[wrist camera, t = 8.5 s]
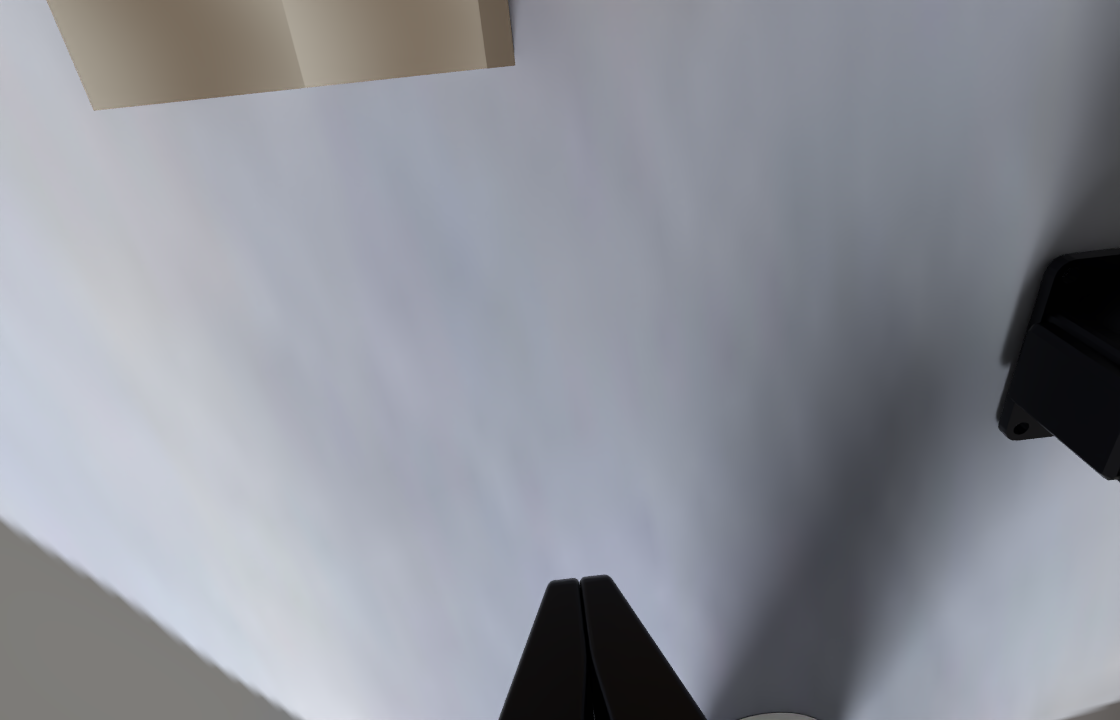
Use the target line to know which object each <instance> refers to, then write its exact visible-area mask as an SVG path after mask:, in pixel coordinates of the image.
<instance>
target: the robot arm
mask: <svg viewBox="0 0 1120 720" xmlns="http://www.w3.org/2000/svg"><path fill="white" fill-rule="evenodd" d="M1069 269H1070V270H1069ZM1067 270H1069V272H1068V274H1066V275H1065V276H1064V277H1063V275H1064V273H1065V272H1066V271H1067ZM1016 425H1017V426H1016ZM998 428H999V430H1000V431H1001V432H1002V433H1003V434H1004V435H1005V436H1006V437H1007V438H1009V439H1011V440H1026V439H1034V438H1043V437H1051V436H1055V437H1056V438H1057V439H1058V440H1060V441H1061V442H1062V443H1063V444H1064V445H1065V446H1067V447H1068V448H1069V449H1070V450H1071V451H1073V452H1074V453H1075V454H1076V455H1077V456H1078V457H1080V458H1081V459H1082V460H1083V461H1084V462H1086V463H1087V464H1088V465H1089V466H1090V467H1091V468H1093V469H1094V470H1095V471H1096V472H1097V473H1099V474H1100V475H1101V476H1102V477H1103V478H1105V479H1107V480H1118V481H1119V482H1120V248H1116V249H1107V250H1099V251H1090V252H1081V253H1072V254H1065V255H1062V256H1059V257H1058V258H1056V259H1054V260H1053V261H1052V262H1051V263H1050V264H1049V265H1048V267H1047V269H1046V271H1045V273H1044V276H1043V280H1042V283H1041V286H1040V289H1039V293H1038V296H1037V299H1036V303H1035V306H1034V309H1033V312H1032V316H1031V319H1030V322H1029V325H1028V329H1027V332H1026V335H1025V339H1024V342H1023V345H1022V348H1021V352H1020V355H1019V358H1018V361H1017V365H1016V368H1015V371H1014V375H1013V378H1012V381H1011V384H1010V388H1009V391H1008V394H1007V397H1006V401H1005V404H1004V407H1003V411H1002V414H1001V417H1000V420H999V425H998ZM594 719H595V720H707V719H706V717H705V716H704V714H703V713H702V711H701V710H700V708H699V707H698V705H697V704H696V702H695V701H694V700H693V698H692V697H691V695H690V694H689V692H688V691H687V689H686V688H685V686H684V685H683V683H682V682H681V680H680V679H679V677H678V676H677V674H676V673H675V671H674V670H673V668H672V667H671V665H670V664H669V663H668V661H667V660H666V658H665V657H664V655H663V654H662V652H661V651H660V649H659V648H658V646H657V645H656V643H655V642H654V640H653V639H652V637H651V636H650V634H649V633H648V631H647V630H646V628H645V627H644V625H643V624H642V623H641V621H640V620H639V618H638V617H637V615H636V614H635V612H634V611H633V609H632V608H631V606H630V605H629V603H628V602H627V600H626V599H625V597H624V596H623V594H622V593H621V591H620V590H619V588H618V587H617V586H616V584H615V583H614V581H613V580H612V578H611V577H610V576H608V575H597V576H588V577H583V578H582V579H581V580H580V584H579V581H578V580H577V579H575V578H570V579H561V580H553V581H551V582H550V583H549V584H548V586H547V588H546V591H545V594H544V596H543V599H542V602H541V604H540V607H539V610H538V613H537V615H536V618H535V621H534V624H533V626H532V629H531V632H530V635H529V637H528V640H527V643H526V646H525V648H524V651H523V654H522V657H521V659H520V662H519V665H518V667H517V670H516V673H515V676H514V678H513V681H512V684H511V687H510V689H509V692H508V695H507V698H506V700H505V703H504V706H503V709H502V711H501V714H500V717H499V720H594Z"/></svg>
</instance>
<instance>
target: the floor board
mask: <svg viewBox="0 0 1120 720" xmlns="http://www.w3.org/2000/svg"><path fill="white" fill-rule="evenodd" d="M47 3H48V5H49V7H50V10H51V12H52V14H53V17H54V19H55V21H56V24H57V26H58V28H59V31H60V33H61V35H62V38H63V40H64V42H65V45H66V47H67V49H68V52H69V54H70V56H71V59H72V61H73V63H74V66H75V68H76V70H77V73H78V75H79V77H80V80H81V82H82V84H83V87H84V89H85V91H86V93H87V96H88V98H89V100H90V103H91V105H92V107H93V110H94V111H95V110H104V109H114V108H123V107H132V106H141V105H151V104H160V103H169V102H178V101H188V100H197V99H206V98H215V97H225V96H234V95H243V94H252V93H262V92H271V91H280V90H289V89H299V88H308V87H317V86H326V85H336V84H345V83H354V82H364V81H373V80H382V79H391V78H401V77H410V76H419V75H428V74H438V73H447V72H456V71H465V70H475V69H484V68H495V67H505V66H514V65H515V58H514V49H513V40H512V31H511V23H510V14H509V5H508V0H47Z"/></svg>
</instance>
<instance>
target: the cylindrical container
mask: <svg viewBox="0 0 1120 720" xmlns="http://www.w3.org/2000/svg"><path fill="white" fill-rule="evenodd" d="M740 720H817V719H814V718H811V717H808V716H806V715H800V714H794V713H769V714H760V715H756V716H751V717H747V718H743V719H740Z"/></svg>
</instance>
